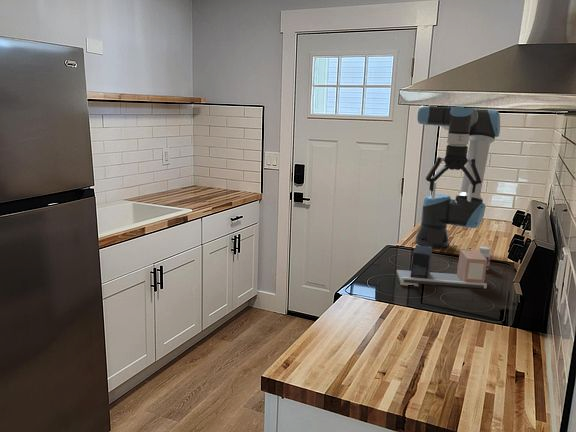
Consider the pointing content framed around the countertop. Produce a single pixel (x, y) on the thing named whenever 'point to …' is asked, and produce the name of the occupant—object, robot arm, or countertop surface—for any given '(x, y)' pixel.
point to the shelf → (436, 280)
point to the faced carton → (471, 266)
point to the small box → (421, 262)
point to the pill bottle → (485, 255)
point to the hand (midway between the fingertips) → (450, 200)
